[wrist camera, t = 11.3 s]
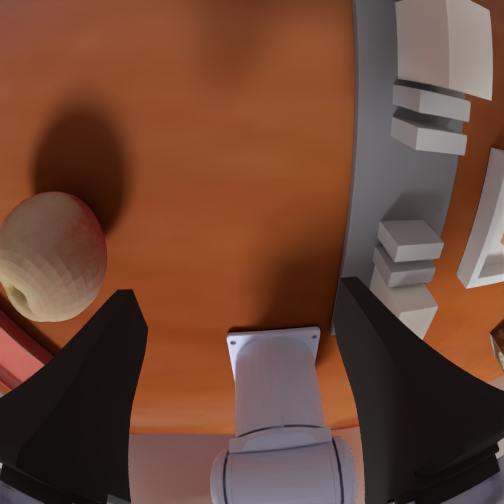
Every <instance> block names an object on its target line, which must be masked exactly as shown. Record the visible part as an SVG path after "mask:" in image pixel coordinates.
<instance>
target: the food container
mask: <svg viewBox="0 0 504 504" xmlns="http://www.w3.org/2000/svg"><path fill="white" fill-rule="evenodd" d="M490 337H491V342H492V346H493V351H494V355H495V357H496V359H497V361H498V362H499V364H500V366H501V368H502V370H503V372H504V323H503V324H501V325H500V326H498V327H497V328H495V329H494V330H493V331H491V332H490Z"/></svg>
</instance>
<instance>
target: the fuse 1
mask: <svg viewBox="0 0 504 504" xmlns="http://www.w3.org/2000/svg"><path fill="white" fill-rule="evenodd" d="M369 289H370V290H371V292H372V293H373V294H374V295H375V296H376V297H377V298H378V299H379V300H380V301H381V302H382V303H383V304H384V305H385V306H386V307H387V308H388V309H389V310H390V311H391V312H392V313H393V314H394V315H395V316H396V317H397V318H398V319H399V320H400V321H402V322H403V323H404V324H405V325H406V326H407V327H408V328H409V329H410V330H411V331H413V332H414V333H415V334H416V335H417V336H418V337H419V338H420V339H423V337H424V336H425V334H426V332H427V330H428V327H429V325H430V323H431V321H432V319H433V317H434V315H435V313H436V311H437V308H438V305H437V303H436V302H435V300H434V298H433V297H432V295H431V294H430V292H429V291H428V289H427V287H426V286H425V284H424V283H419V284H411V285H403V286H395V287H387V286H386V284H385V282H384V280H383V278H382V276H381V275H380V273H379V271H378V269H377V268H376V266H375V267H374V272H373V276H372V280H371V284H370V288H369Z"/></svg>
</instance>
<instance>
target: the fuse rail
mask: <svg viewBox="0 0 504 504" xmlns="http://www.w3.org/2000/svg"><path fill="white" fill-rule="evenodd" d="M398 1H402V0H352V11H353V27H354V52H355V111H354V137H353V155H352V170H351V182H350V193H349V204H348V213H347V222H346V231H345V239H344V246H343V254H342V261H341V268H340V274H339V281H340V278H343V277H354V276H357V277H358V278H359V279H360V280H361V281H362V282H363V283H364V284H365V285H366V286H367V287H368V288H370V284H371V280H372V276H373V272H374V267H375V266H376V268H377V269H378V271H379V273H380V275H381V276H382V278H383V280H384V282H385V284H386V286H387V287H395V286H403V285H411V284H419V283H424V284H426V283H427V282H431V281H432V278H433V275H434V272H435V269H436V267H435V266H434V265H433V261H434V259H437V258H440V254H441V251H442V248H443V245H444V242H443V241H442V240H441V239H440V238H441V234H442V231H443V227H444V224H445V220H446V216H447V212H448V208H449V204H450V199H451V195H452V190H453V185H454V181H455V175H456V170H457V164H458V158H459V155H465V149H466V142H467V135H465V134H463V133H462V130H463V121H466V122H469V117H470V105H471V102H470V101H466V100H465V96H466V93H462V92H458V91H454V90H449V89H445V88H440V87H436V86H432V85H427V84H422V83H418V82H413V81H407V80H402V79H398V42H397V21H396V8H395V2H398ZM339 281H338V287H339ZM338 287H337V293H338ZM337 293H336V298H337ZM335 304H336V299H335ZM335 304H334V309H335ZM333 315H334V310H333ZM333 315H332V321H331V326H330V334H331V335H336V334H335V329H334V323H333Z"/></svg>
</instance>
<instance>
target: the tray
mask: <svg viewBox="0 0 504 504" xmlns="http://www.w3.org/2000/svg"><path fill="white" fill-rule="evenodd" d="M503 233H504V150H500V149H496V148H492V147H491V150H490V156H489V161H488V167H487V172H486V176H485V181H484V185H483V190H482V194H481V198H480V202H479V206H478V209H477V213H476V217H475V220H474V223H473V227H472V230H471V233H470V236H469V239H468V243H467V246H466V248H465V251H464V254H463V257H462V260H461V262H460V265H459V268H458V270H457V273H456V275H457V277H458V278H459V279H460V281H461V282H462V283H463V285H464V286H465V287H466V289H467V288H472V287H478V286H483V285H488V284H493V283H498V282H503V281H504V245H503V244H502V243H501V239H502V236H503Z"/></svg>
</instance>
